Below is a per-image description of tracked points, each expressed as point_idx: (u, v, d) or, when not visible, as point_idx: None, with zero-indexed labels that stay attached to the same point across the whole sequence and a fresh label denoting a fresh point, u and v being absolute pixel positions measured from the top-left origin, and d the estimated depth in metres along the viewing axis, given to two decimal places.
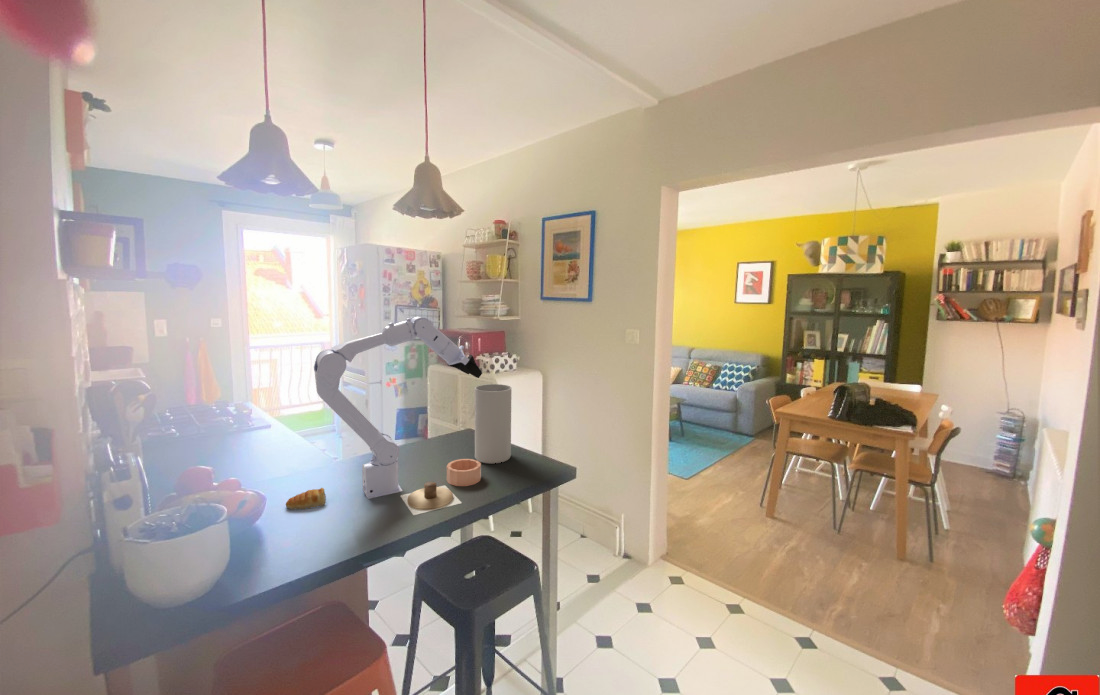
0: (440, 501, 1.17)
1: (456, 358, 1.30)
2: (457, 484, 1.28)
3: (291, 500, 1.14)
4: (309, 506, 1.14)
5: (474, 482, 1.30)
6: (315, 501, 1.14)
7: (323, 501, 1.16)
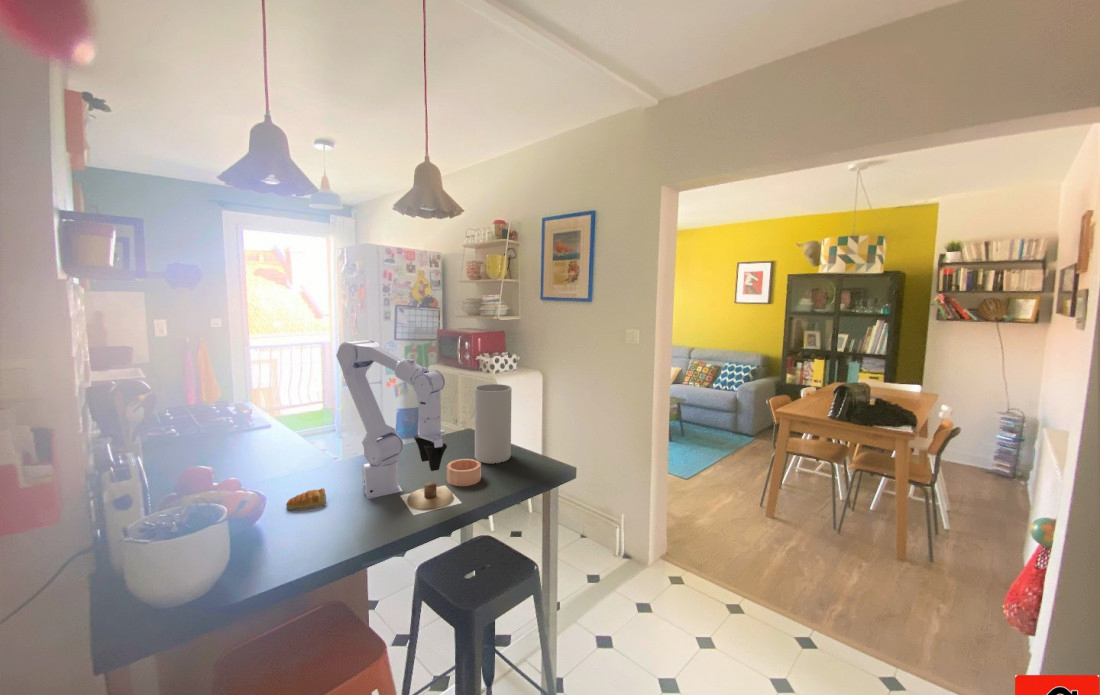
0: (440, 501, 1.17)
1: (431, 436, 1.15)
2: (457, 484, 1.28)
3: (292, 500, 1.13)
4: (309, 507, 1.14)
5: (474, 482, 1.30)
6: (316, 501, 1.14)
7: (324, 502, 1.15)
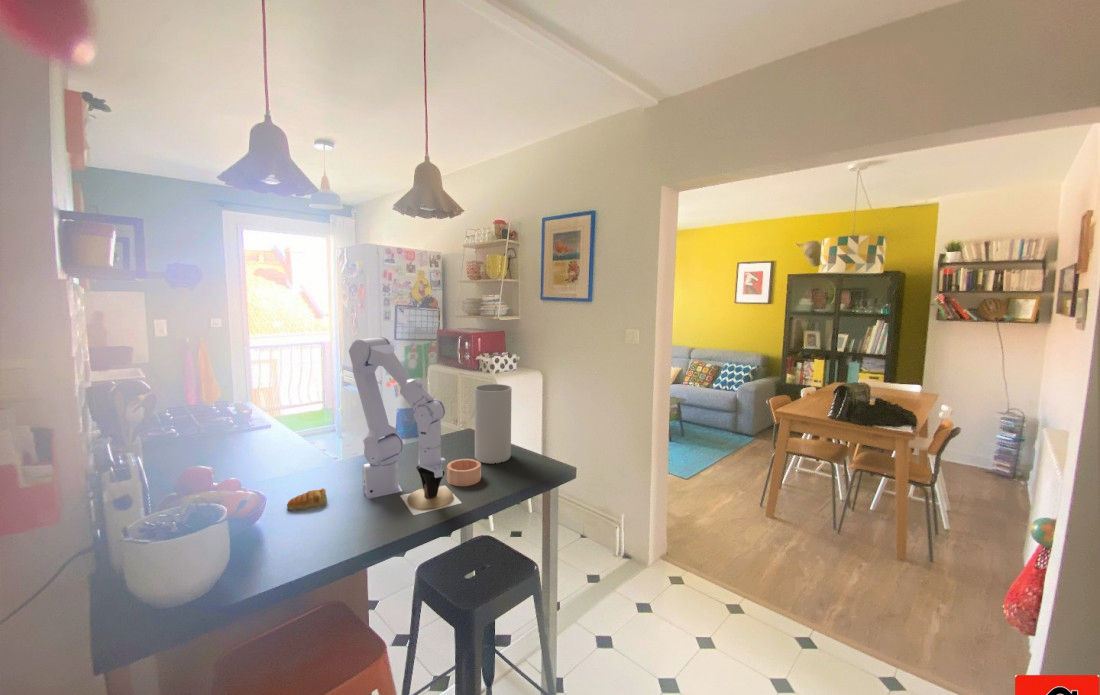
0: (440, 501, 1.17)
1: (431, 465, 1.16)
2: (457, 484, 1.28)
3: (292, 501, 1.13)
4: (310, 507, 1.14)
5: (474, 482, 1.30)
6: (317, 502, 1.14)
7: (325, 502, 1.15)
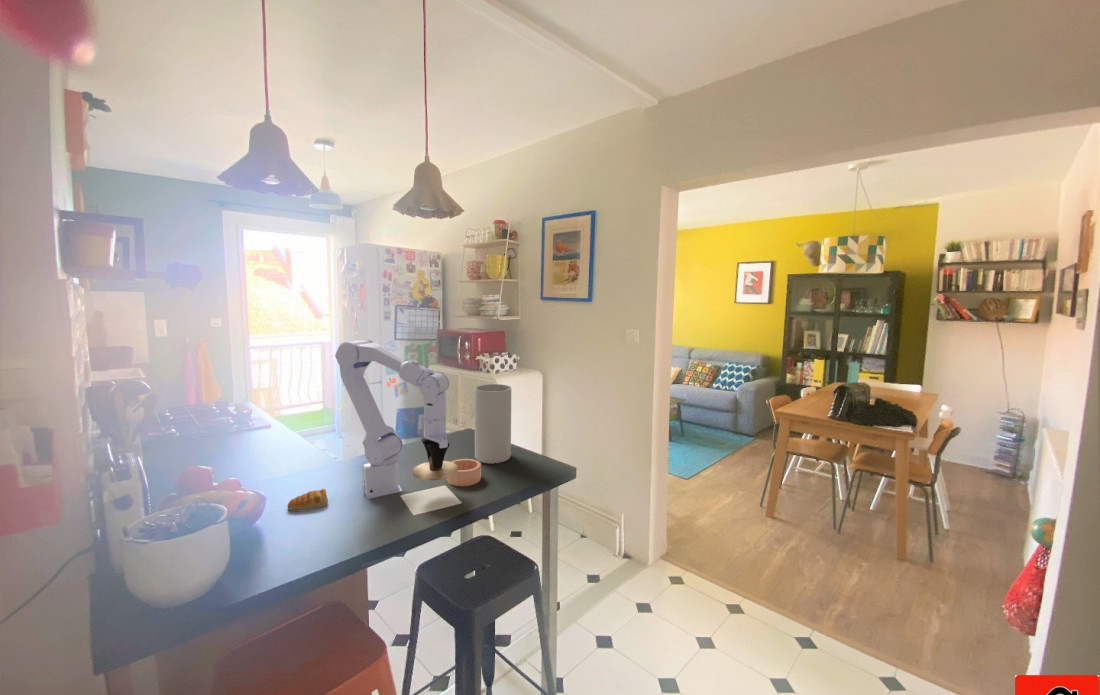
0: (445, 472, 1.18)
1: (436, 436, 1.17)
2: (457, 484, 1.28)
3: (293, 502, 1.13)
4: (311, 507, 1.14)
5: (474, 482, 1.30)
6: (318, 502, 1.14)
7: (326, 502, 1.15)
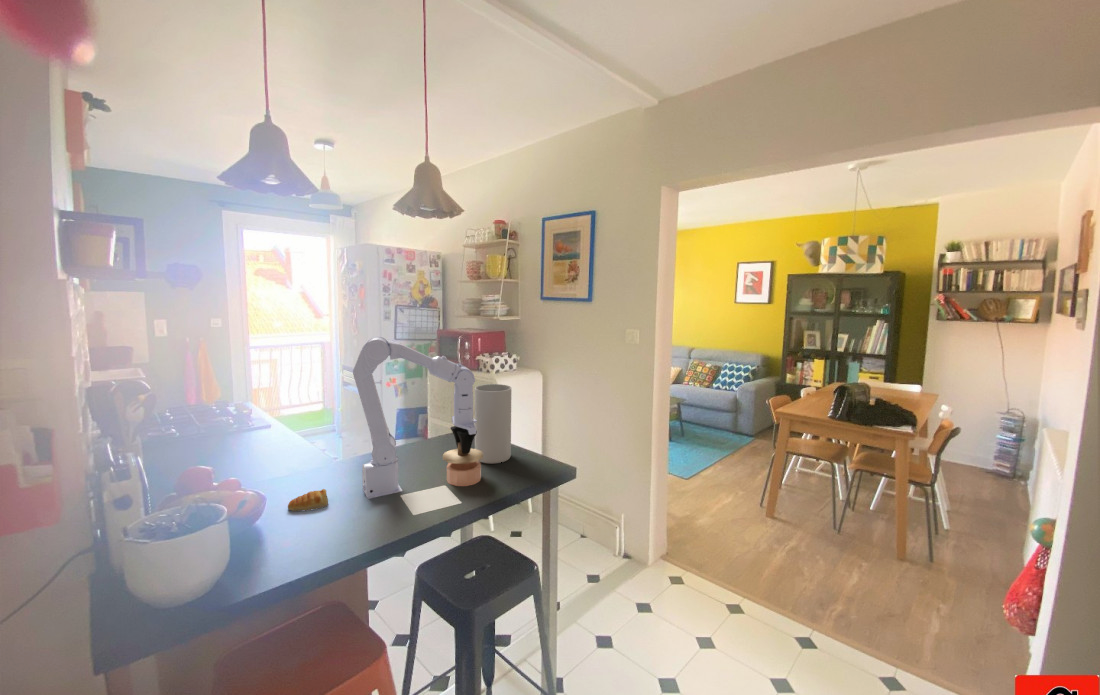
0: (473, 457, 1.29)
1: (465, 424, 1.28)
2: (457, 484, 1.28)
3: (293, 502, 1.13)
4: (312, 508, 1.13)
5: (474, 482, 1.30)
6: (318, 502, 1.14)
7: (326, 502, 1.15)
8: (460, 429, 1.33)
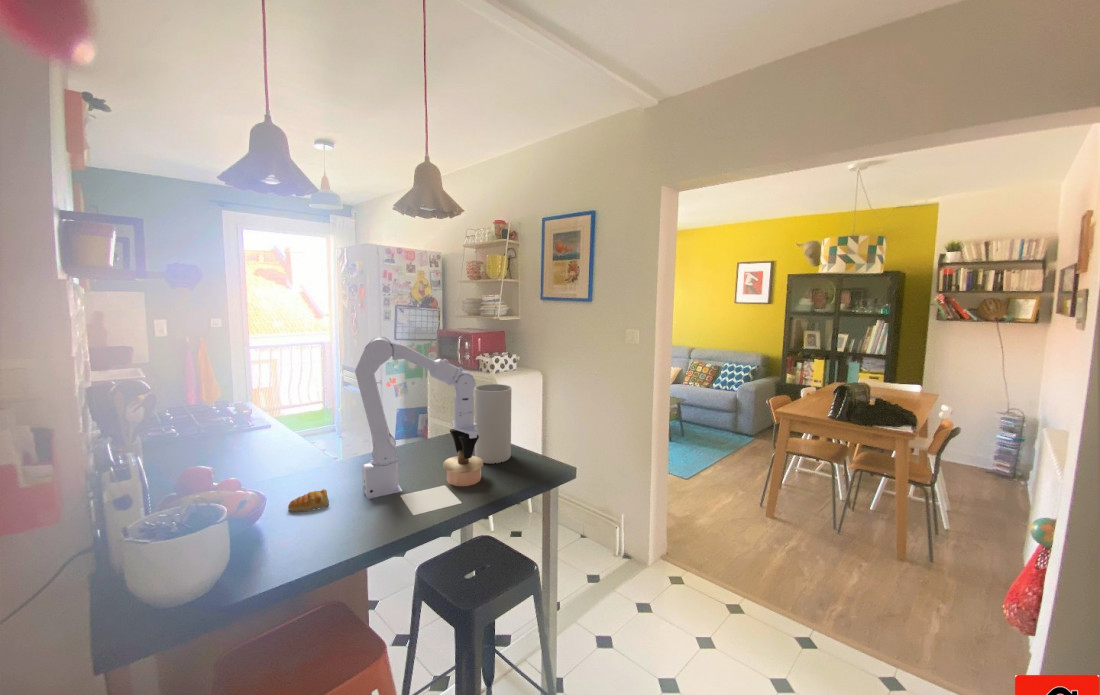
0: (473, 466, 1.30)
1: (465, 428, 1.29)
2: (457, 484, 1.28)
3: (294, 502, 1.12)
4: (312, 508, 1.13)
5: (474, 482, 1.30)
6: (319, 502, 1.14)
7: (327, 502, 1.15)
8: (459, 432, 1.34)
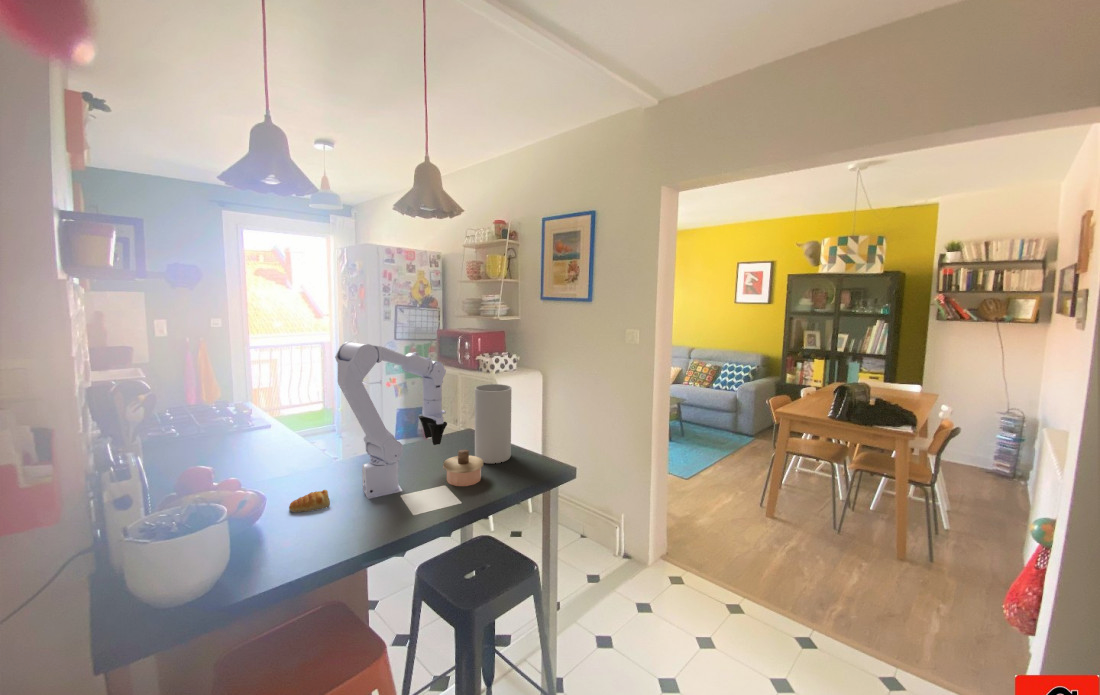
0: (473, 466, 1.30)
1: (433, 415, 1.34)
2: (457, 484, 1.28)
3: (295, 503, 1.12)
4: (313, 509, 1.13)
5: (474, 482, 1.30)
6: (320, 503, 1.14)
7: (328, 503, 1.15)
8: (428, 418, 1.40)
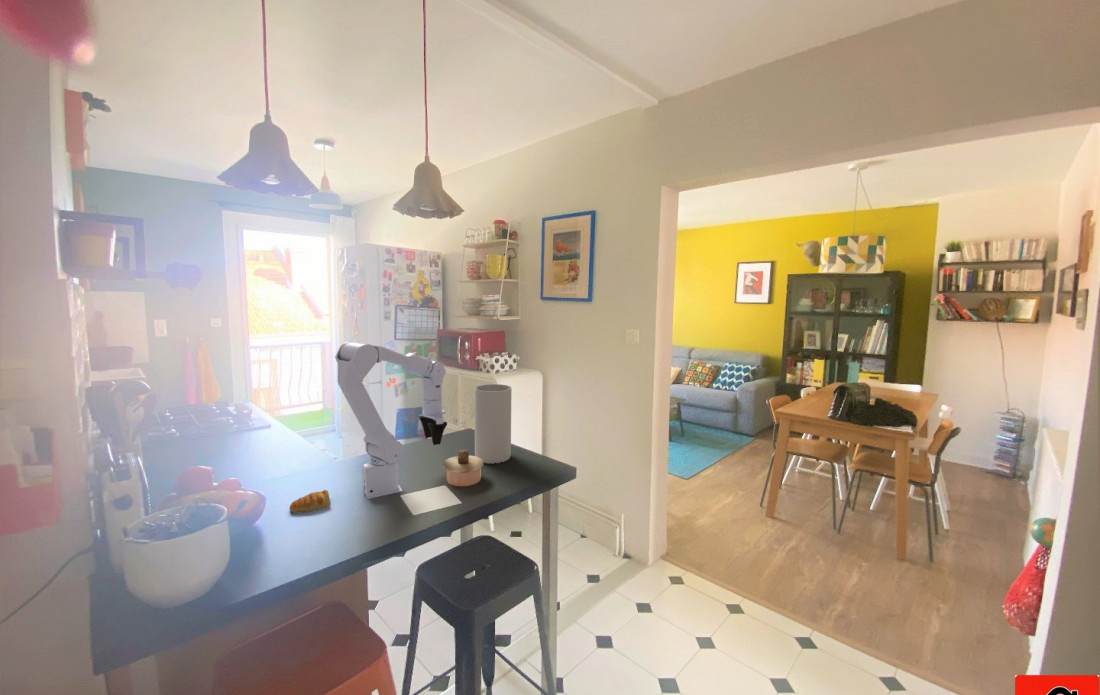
0: (473, 466, 1.30)
1: (433, 415, 1.34)
2: (457, 484, 1.28)
3: (295, 503, 1.12)
4: (314, 509, 1.13)
5: (474, 482, 1.30)
6: (321, 503, 1.13)
7: (329, 503, 1.15)
8: (428, 418, 1.40)
